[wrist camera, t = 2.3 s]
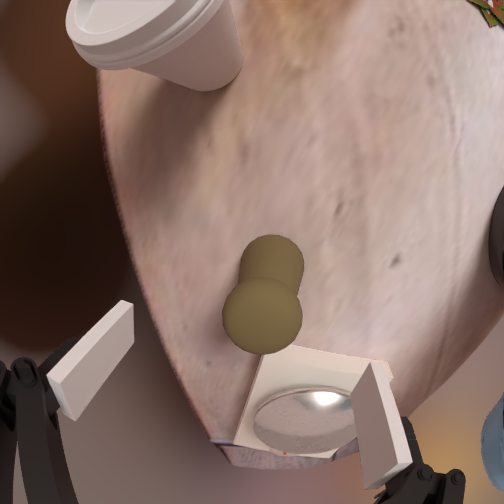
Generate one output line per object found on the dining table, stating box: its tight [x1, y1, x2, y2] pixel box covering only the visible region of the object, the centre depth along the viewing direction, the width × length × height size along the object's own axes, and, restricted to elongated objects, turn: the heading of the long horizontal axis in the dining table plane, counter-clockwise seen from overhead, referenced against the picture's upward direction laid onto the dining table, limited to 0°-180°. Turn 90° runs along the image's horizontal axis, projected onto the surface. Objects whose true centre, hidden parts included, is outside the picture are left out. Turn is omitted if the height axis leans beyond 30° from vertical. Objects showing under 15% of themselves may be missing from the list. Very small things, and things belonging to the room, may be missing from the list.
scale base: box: [233, 344, 393, 458], centre depth 30 cm, size 15×19×4 cm
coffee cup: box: [66, 0, 243, 91], centre depth 14 cm, size 10×10×15 cm
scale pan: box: [253, 385, 357, 454], centre depth 27 cm, size 13×13×1 cm
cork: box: [222, 235, 304, 355], centre depth 21 cm, size 6×6×11 cm
